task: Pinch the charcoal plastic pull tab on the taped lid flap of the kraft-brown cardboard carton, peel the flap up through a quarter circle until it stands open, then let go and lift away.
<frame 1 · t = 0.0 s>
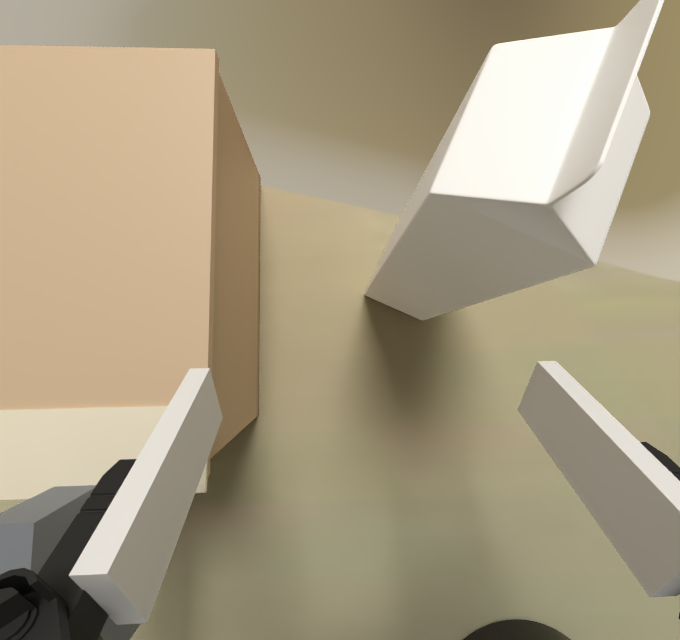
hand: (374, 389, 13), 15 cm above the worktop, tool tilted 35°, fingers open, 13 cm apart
carton: (198, 292, 28), on the worktop
milk: (404, 280, 29), on the worktop
flap: (90, 340, 15), point 13 cm above the worktop, hinge at 0.0°
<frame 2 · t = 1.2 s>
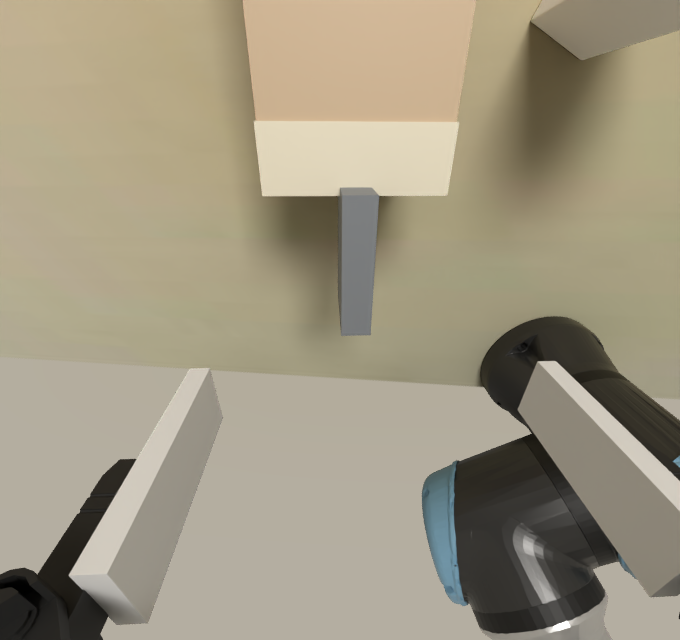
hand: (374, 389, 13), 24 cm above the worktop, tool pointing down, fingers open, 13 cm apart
flap: (359, 48, 16), point 12 cm above the worktop, hinge at 0.0°
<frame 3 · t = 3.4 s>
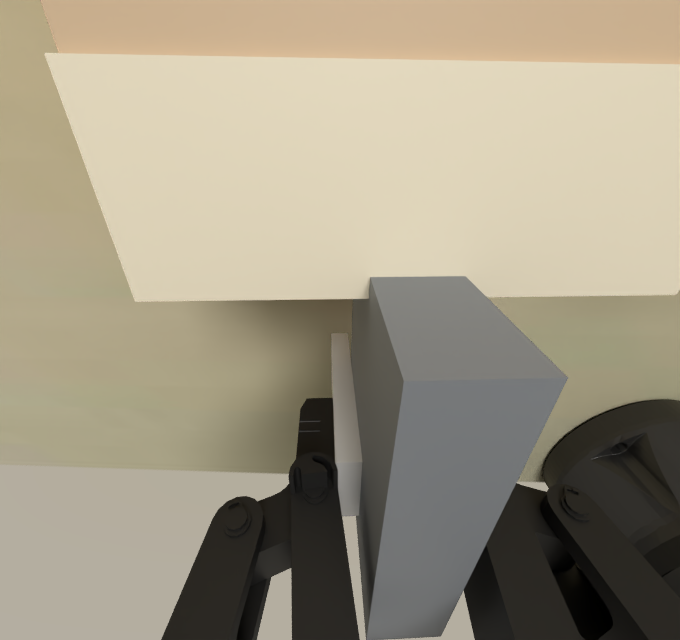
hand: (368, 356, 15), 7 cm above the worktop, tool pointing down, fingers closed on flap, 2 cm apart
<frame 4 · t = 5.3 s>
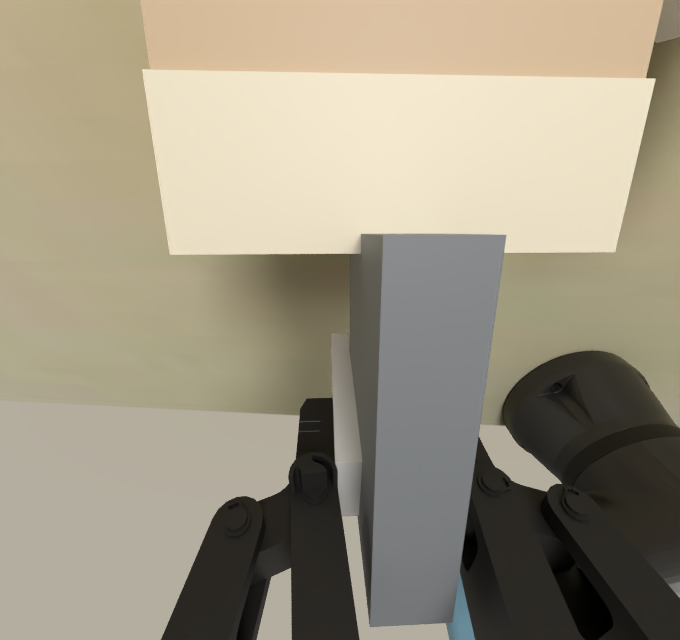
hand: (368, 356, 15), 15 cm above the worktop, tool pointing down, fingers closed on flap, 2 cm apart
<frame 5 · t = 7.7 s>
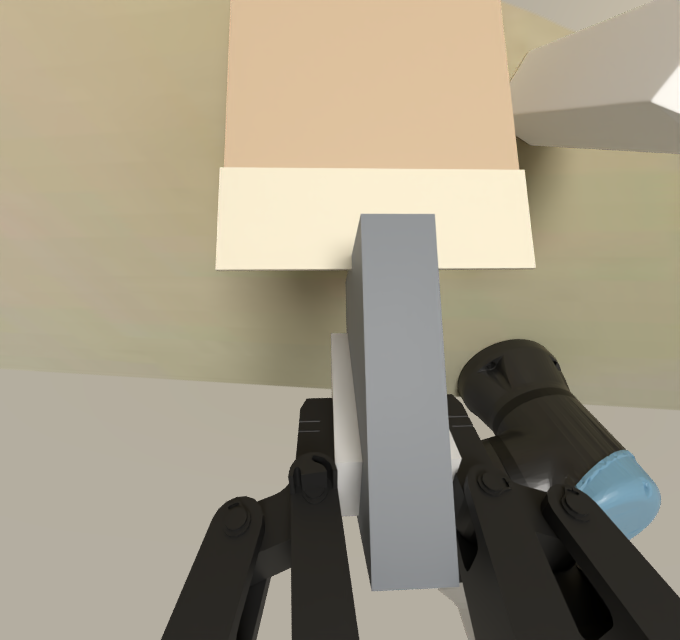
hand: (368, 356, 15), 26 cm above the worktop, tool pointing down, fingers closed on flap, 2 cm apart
milk: (528, 101, 32), on the worktop
flap: (371, 100, 13), point 22 cm above the worktop, hinge at 39.3°, touching gripper
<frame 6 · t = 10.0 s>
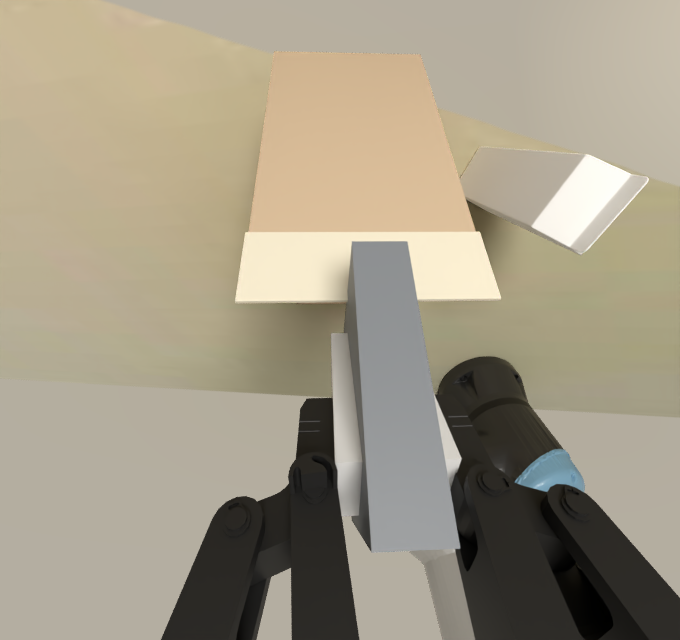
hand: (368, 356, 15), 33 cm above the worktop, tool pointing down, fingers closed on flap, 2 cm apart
milk: (482, 179, 42), on the worktop
flap: (359, 192, 17), point 26 cm above the worktop, hinge at 58.7°, touching gripper
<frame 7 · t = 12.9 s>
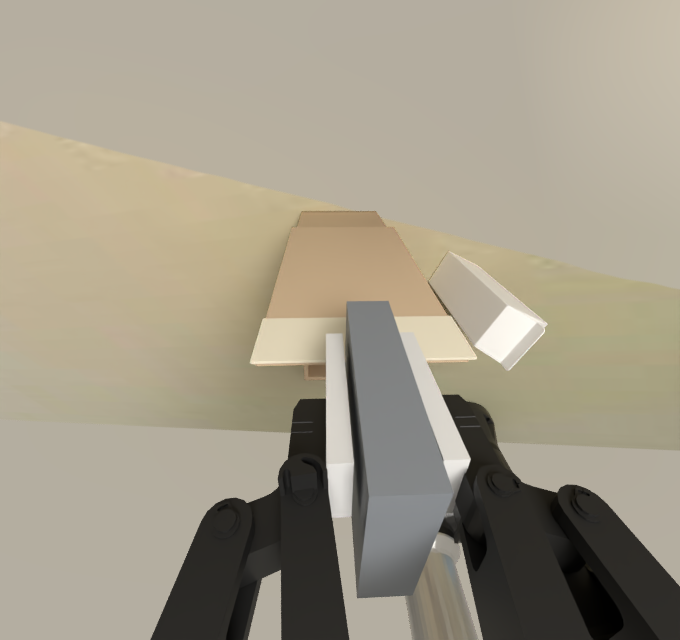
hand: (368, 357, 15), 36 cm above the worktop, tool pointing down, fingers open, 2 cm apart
carton: (338, 280, 52), on the worktop
milk: (452, 273, 52), on the worktop
flap: (353, 296, 22), point 28 cm above the worktop, hinge at 86.8°
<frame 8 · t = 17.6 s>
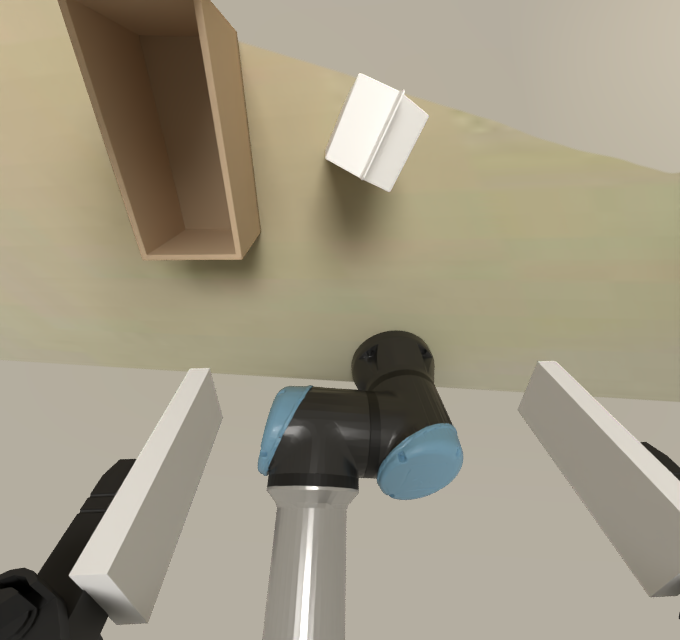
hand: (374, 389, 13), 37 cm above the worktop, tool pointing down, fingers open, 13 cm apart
carton: (207, 145, 40), on the worktop
milk: (355, 137, 40), on the worktop
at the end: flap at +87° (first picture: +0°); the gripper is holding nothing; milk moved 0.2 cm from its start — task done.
